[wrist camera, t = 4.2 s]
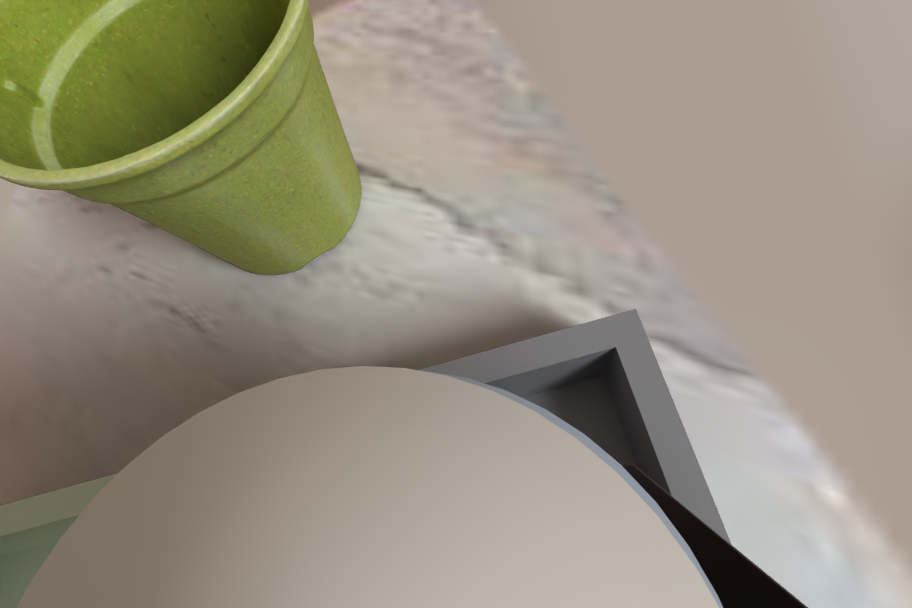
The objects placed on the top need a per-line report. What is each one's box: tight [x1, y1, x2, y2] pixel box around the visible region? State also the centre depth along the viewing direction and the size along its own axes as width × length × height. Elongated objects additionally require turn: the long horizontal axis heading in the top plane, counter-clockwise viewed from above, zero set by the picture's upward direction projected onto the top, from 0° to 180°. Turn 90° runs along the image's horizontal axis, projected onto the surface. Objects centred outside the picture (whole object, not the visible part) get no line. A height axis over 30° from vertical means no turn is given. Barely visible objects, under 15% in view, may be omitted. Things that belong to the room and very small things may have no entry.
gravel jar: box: [17, 366, 723, 608], centre depth 9 cm, size 5×5×12 cm
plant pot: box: [0, 0, 361, 275], centre depth 17 cm, size 9×9×9 cm
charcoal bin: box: [419, 309, 731, 544], centre depth 13 cm, size 10×10×4 cm
